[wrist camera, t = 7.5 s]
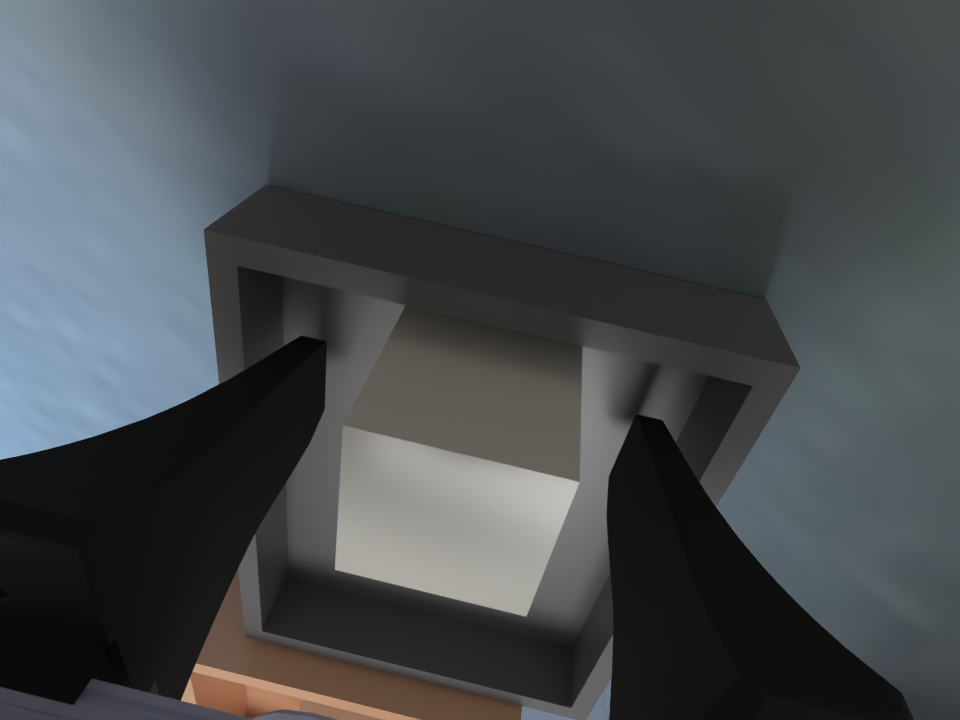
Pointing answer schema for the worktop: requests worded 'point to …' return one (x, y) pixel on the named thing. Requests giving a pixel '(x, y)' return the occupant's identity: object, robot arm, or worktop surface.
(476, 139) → the worktop surface
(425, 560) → the stone
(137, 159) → the worktop surface
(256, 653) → the terracotta dish
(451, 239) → the parts tray
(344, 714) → the stone
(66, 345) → the worktop surface
